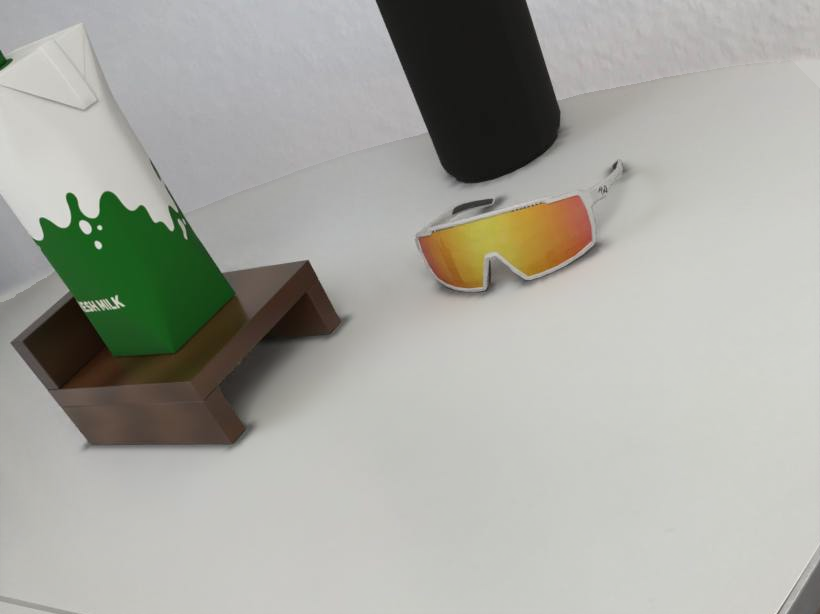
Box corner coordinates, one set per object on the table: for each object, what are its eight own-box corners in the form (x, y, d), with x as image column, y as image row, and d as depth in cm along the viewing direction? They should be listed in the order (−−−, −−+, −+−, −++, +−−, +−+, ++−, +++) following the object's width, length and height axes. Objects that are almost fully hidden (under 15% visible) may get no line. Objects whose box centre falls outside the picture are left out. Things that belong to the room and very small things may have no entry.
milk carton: (98, 366, 71) (-115, 77, 58) (176, 293, 75) (-5, 10, 62) (175, 362, 66) (-39, 44, 52) (254, 284, 70) (74, -27, 57)
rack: (90, 444, 75) (9, 342, 69) (198, 335, 82) (133, 234, 76) (232, 444, 66) (153, 326, 60) (341, 321, 73) (280, 205, 67)
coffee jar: (510, 121, 89) (430, -112, 77) (591, 121, 81) (516, -138, 69) (424, 184, 86) (327, -47, 74) (499, 190, 78) (404, -66, 66)
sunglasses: (410, 312, 69) (382, 241, 66) (479, 234, 79) (458, 169, 76) (603, 268, 62) (582, 188, 59) (650, 189, 73) (634, 117, 70)
